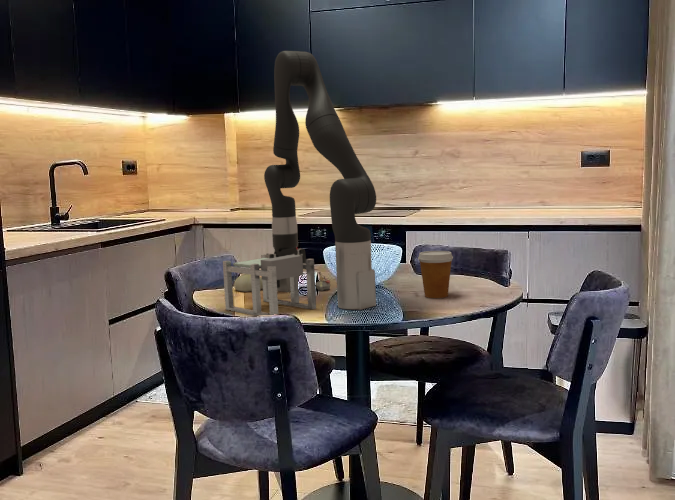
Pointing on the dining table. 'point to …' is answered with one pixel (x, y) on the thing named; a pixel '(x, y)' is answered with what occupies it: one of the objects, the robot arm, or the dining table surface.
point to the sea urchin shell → (245, 283)
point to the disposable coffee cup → (435, 272)
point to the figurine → (323, 283)
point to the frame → (268, 288)
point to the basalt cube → (285, 285)
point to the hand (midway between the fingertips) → (287, 285)
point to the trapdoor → (278, 265)
